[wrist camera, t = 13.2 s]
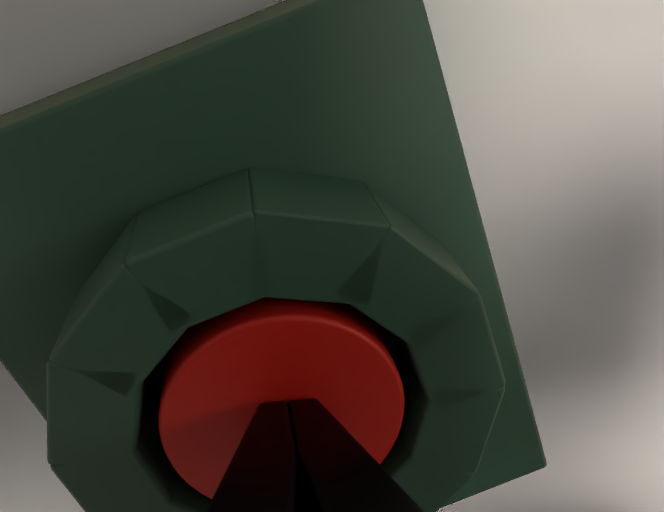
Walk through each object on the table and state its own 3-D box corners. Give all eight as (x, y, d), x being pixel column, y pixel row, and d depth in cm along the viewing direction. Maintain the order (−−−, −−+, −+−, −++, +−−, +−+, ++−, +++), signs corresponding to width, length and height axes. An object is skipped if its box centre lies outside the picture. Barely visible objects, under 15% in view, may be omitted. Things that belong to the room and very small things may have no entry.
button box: (514, 413, 14) (595, 539, 11) (191, 540, 15) (182, 700, 11) (384, -40, 10) (459, -37, 7) (-85, 149, 10) (-222, 237, 7)
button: (404, 392, 12) (433, 462, 10) (222, 465, 12) (222, 544, 10) (340, 225, 10) (362, 277, 8) (127, 310, 10) (109, 377, 8)
